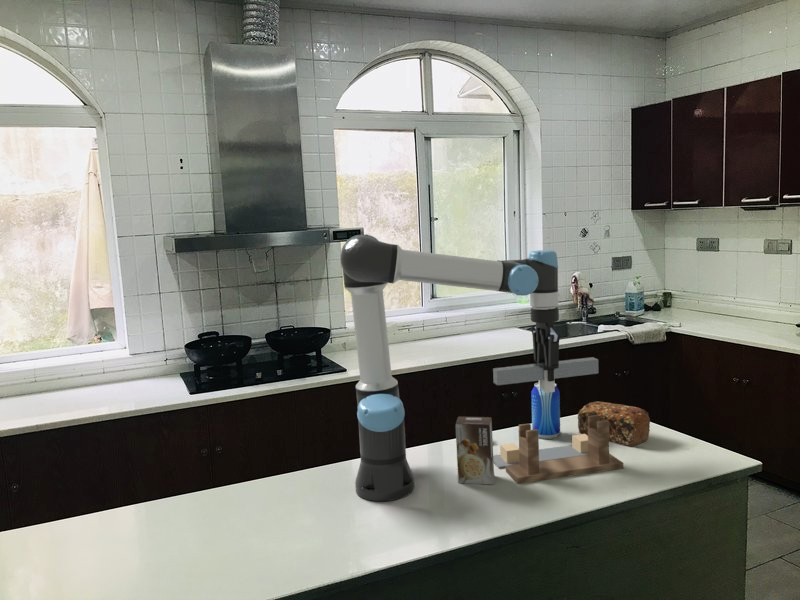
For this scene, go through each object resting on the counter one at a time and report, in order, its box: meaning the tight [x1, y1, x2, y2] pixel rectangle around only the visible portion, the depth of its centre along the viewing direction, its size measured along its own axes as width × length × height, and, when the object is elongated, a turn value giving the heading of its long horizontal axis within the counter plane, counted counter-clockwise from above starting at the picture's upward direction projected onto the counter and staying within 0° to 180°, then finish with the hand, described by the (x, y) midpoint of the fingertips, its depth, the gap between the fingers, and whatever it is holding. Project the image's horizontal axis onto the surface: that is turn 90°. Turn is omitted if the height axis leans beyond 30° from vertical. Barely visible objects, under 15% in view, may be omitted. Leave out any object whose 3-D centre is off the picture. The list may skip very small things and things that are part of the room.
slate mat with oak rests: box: [493, 433, 588, 469], centre depth 181 cm, size 32×8×4 cm, turn 102°
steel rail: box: [492, 356, 599, 386], centre depth 178 cm, size 30×3×4 cm, turn 102°
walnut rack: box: [505, 415, 624, 484], centre depth 170 cm, size 30×8×13 cm, turn 102°
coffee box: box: [455, 416, 496, 485], centre depth 167 cm, size 9×6×16 cm
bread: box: [577, 401, 651, 447], centre depth 193 cm, size 19×11×10 cm, turn 40°
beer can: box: [530, 381, 561, 440], centre depth 196 cm, size 8×8×16 cm
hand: (546, 390), depth 178 cm, fingers closed on steel rail, 3 cm apart
